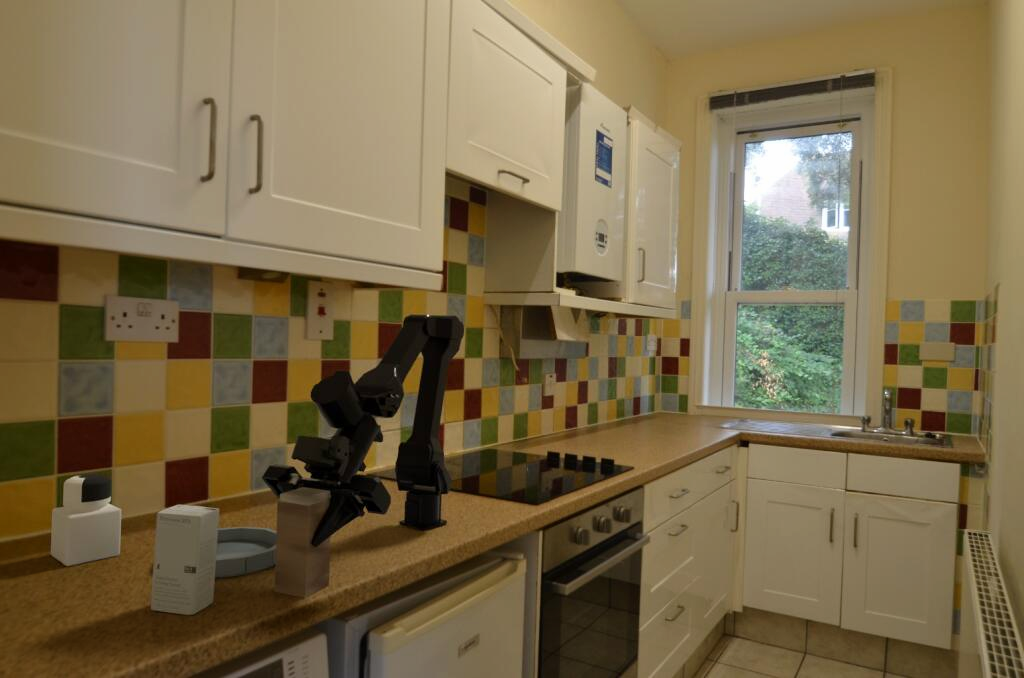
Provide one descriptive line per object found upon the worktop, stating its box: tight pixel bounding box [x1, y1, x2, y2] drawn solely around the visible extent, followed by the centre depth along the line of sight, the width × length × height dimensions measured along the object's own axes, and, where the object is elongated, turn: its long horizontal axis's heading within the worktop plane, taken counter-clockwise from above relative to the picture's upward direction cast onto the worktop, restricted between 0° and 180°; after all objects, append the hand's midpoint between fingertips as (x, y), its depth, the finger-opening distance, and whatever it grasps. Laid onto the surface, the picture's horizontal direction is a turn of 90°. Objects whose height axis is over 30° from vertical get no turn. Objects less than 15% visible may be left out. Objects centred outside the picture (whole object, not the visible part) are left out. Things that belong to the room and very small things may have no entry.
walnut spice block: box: [274, 487, 332, 599], centre depth 88 cm, size 5×5×13 cm
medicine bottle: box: [50, 473, 122, 567], centre depth 98 cm, size 7×7×12 cm
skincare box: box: [150, 504, 220, 616], centre depth 81 cm, size 6×4×12 cm
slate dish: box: [215, 526, 277, 579], centre depth 98 cm, size 16×16×2 cm
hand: (296, 542), depth 87 cm, fingers closed on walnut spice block, 5 cm apart
